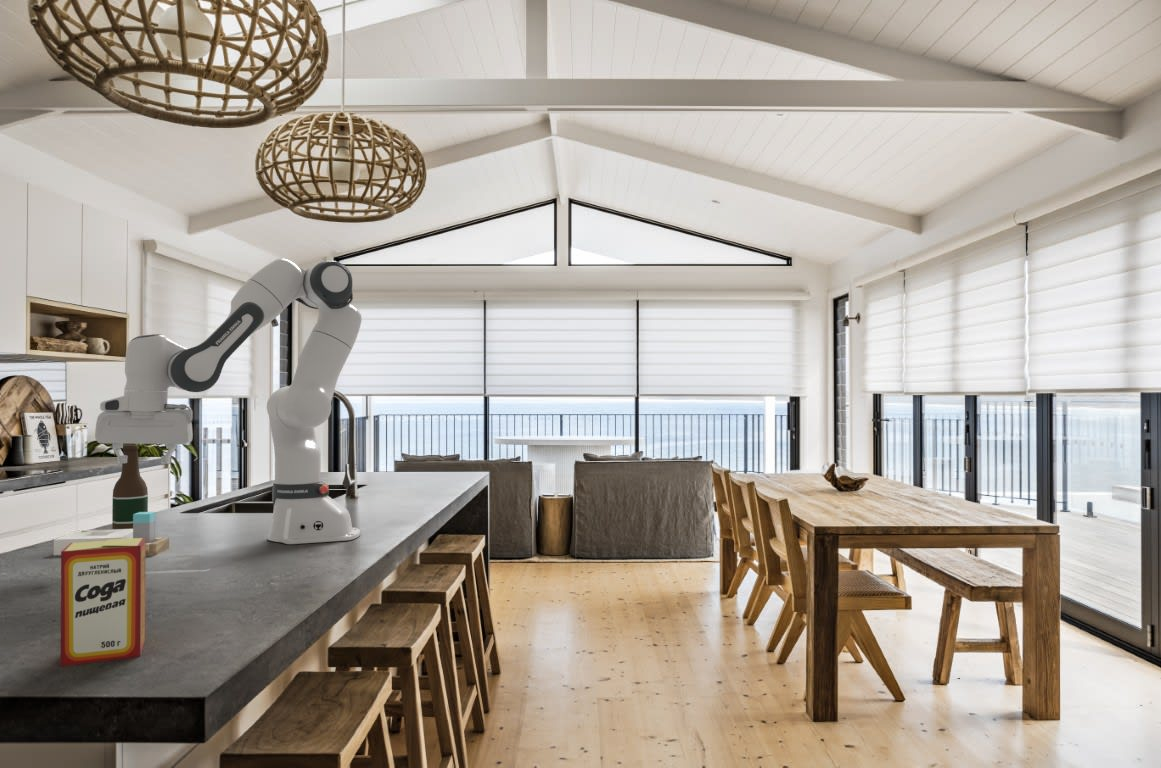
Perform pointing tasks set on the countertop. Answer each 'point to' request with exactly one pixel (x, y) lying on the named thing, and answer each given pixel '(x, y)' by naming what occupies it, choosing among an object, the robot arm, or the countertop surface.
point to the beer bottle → (129, 491)
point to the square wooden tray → (157, 546)
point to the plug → (144, 526)
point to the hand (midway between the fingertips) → (144, 463)
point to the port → (90, 537)
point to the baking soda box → (102, 600)
